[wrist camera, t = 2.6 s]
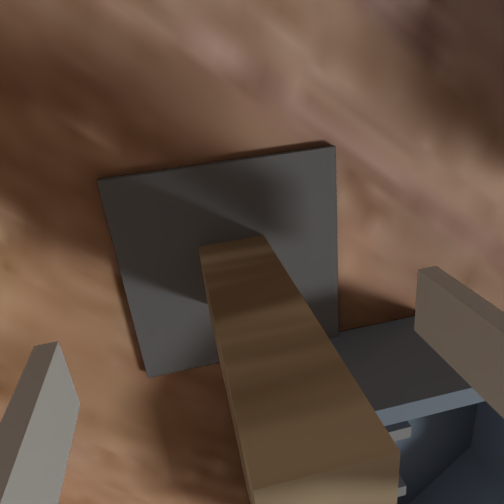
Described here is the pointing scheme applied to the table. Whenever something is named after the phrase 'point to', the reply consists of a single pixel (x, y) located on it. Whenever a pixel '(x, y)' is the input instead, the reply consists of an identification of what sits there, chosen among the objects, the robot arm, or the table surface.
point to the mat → (216, 231)
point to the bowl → (427, 416)
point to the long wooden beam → (291, 388)
